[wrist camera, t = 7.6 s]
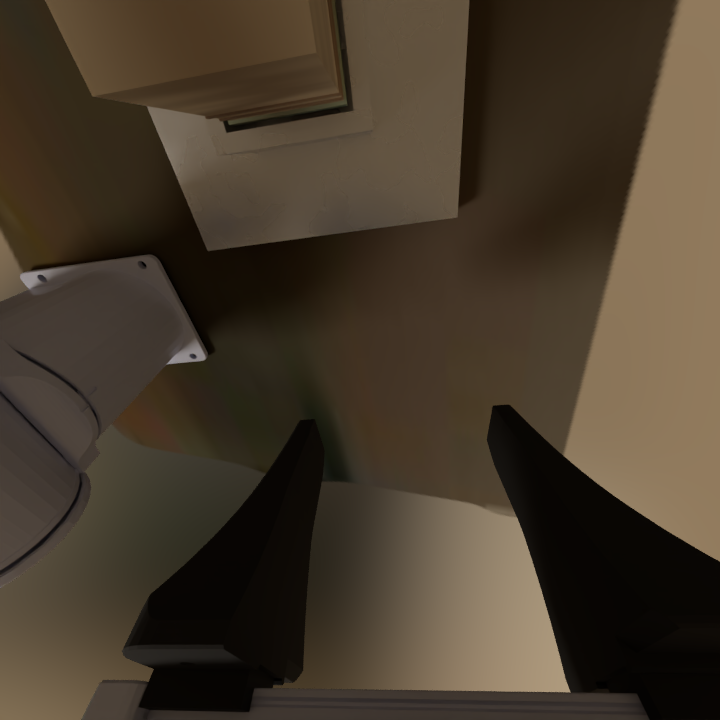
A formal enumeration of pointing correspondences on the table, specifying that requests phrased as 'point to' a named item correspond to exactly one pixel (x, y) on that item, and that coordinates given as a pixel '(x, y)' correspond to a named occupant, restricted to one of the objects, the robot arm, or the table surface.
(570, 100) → the table surface
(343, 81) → the post
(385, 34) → the jack base
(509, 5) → the table surface
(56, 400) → the robot arm
